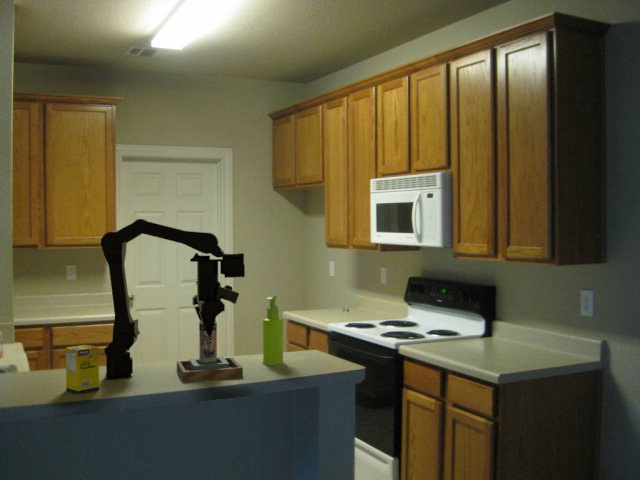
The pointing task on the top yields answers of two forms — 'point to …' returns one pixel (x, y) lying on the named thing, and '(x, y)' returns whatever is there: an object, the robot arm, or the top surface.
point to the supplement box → (82, 369)
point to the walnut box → (209, 371)
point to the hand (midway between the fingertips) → (208, 333)
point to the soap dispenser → (272, 335)
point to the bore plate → (219, 364)
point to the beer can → (207, 344)
